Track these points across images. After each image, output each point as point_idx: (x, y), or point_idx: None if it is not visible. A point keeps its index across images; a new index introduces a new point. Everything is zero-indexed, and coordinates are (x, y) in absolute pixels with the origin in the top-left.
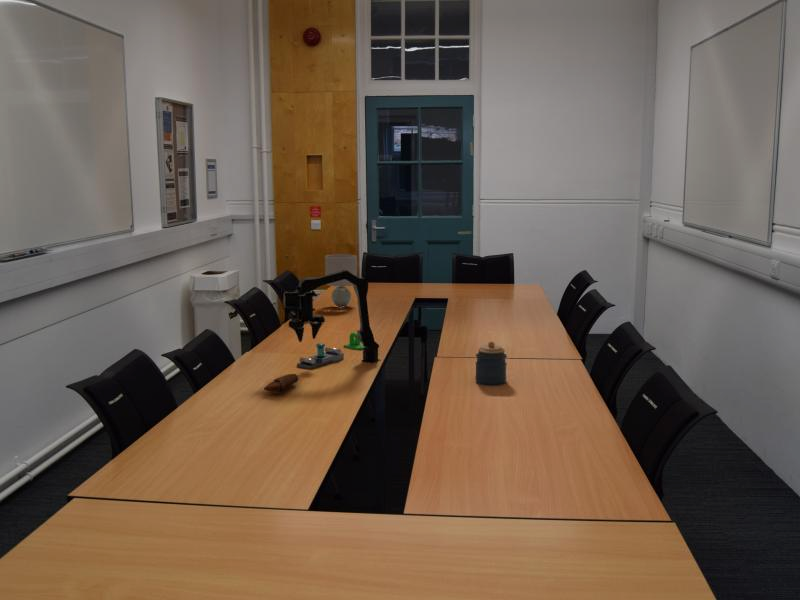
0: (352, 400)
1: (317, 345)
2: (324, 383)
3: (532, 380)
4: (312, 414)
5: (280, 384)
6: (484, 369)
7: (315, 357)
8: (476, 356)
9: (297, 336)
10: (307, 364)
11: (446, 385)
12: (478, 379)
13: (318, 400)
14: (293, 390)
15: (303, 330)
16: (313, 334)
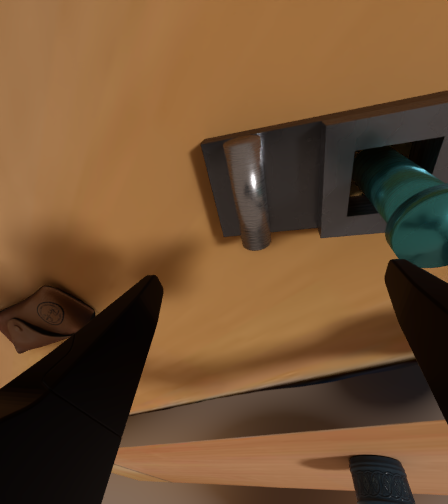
0: (147, 401)
1: (392, 232)
2: (160, 345)
3: (419, 477)
4: None
5: (20, 353)
6: (356, 494)
7: (348, 172)
8: None
9: (96, 319)
10: (234, 206)
11: (319, 441)
12: (353, 467)
13: None
14: None
15: (106, 461)
16: (417, 312)
